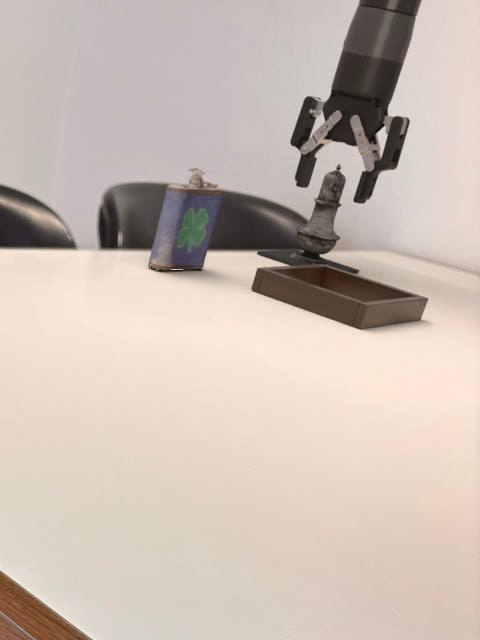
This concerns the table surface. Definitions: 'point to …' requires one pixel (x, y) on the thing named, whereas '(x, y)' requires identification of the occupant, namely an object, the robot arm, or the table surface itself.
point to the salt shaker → (321, 221)
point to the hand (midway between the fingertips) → (329, 194)
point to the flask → (186, 224)
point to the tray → (339, 295)
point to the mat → (285, 258)
